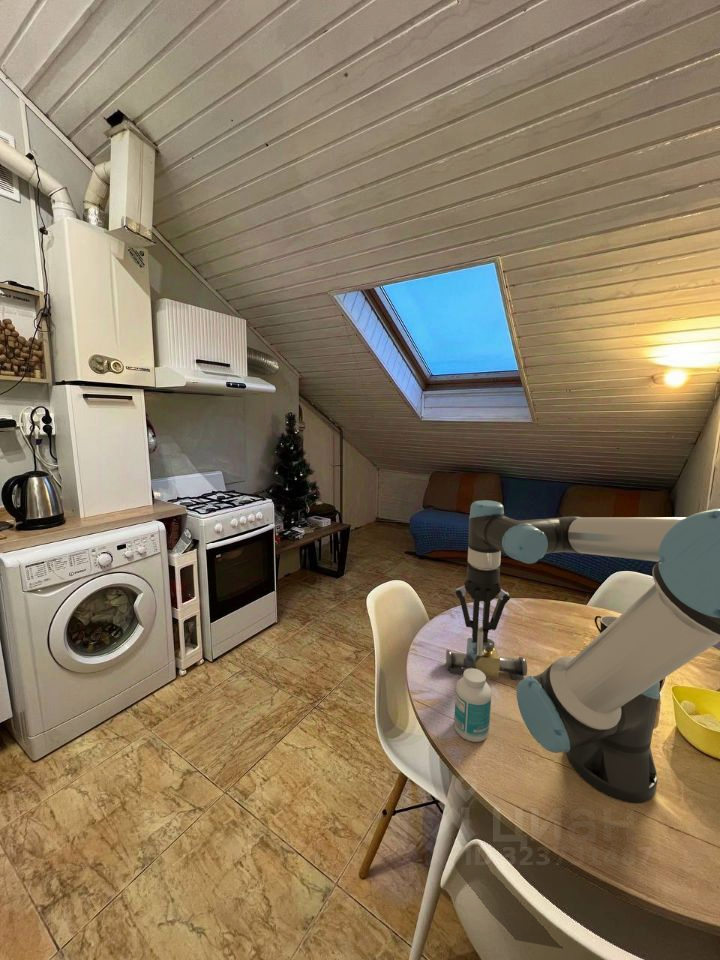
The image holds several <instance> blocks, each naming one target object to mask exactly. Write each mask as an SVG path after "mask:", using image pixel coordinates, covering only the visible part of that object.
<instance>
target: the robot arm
mask: <svg viewBox="0 0 720 960" xmlns="http://www.w3.org/2000/svg"><path fill="white" fill-rule="evenodd" d="M469 509H470V511H469V516H468V519H469V521H468V548H467V549H468V550H467V566H466V567H467V569H466V580H465V581H464V585H462V586H456V587H455V595H456V597H457V598H458V600H459V603H460V607H461V609H462V614H463V618H464V623H465V626H466V628H470V629H472V631H471V638H472V639H473V641H477V652H476V653H477V655H479V656H482V648H483V642H486V643H487V640H488V639H489V635H488V634H489V631H496V630H497V627H498V625H499V622H500V619H501V616H502V613H503V611H504V608H505V605H506V604H507V603H508V602H509V601H510V599H511V596H510V594H509V592H508V591H507V590H504V589H502V587H501V584H500V575H501V573H500V572H501V568H500V567H501V560H502V559H501V557H502V553H503V554H505V555H506V556H508V557H509V558H511V559H513V560H516V561H519V562H522V563H524V564H528V565H529V564H535V563H537V562H538V561H539V560H540V559H543V557H544V556H545V555H546V554H553V553H554V554H556V553H572V554H585V555H593V556H594V555H595V556H603V557H613V558H623V559H629V560H631V559H632V560H640V561H650V562H656V563H655V564H654V566H653V567H652V571H651V572H652V579H653V581H654V584H653V585H652V586H650V588H649V589H648V590H647V591H645V593H643V594H642V595H641V596H640V597H639V598H638V599H637V600H636V601H634V603H632V604H631V605H630V606H629V607H628V608H627V609H626V610H624V612H622V613H621V614H620V615H619V616H618V618H617V619H616V620H615V621H614V622H613V623H612V624H610V625H609V626H608V627H607V628H606V629H605V630H604V631H603V632H602V633H601V634H600V633H599V635H597V636H596V637H595V638H594V639H593V640H592V641H590V643H588V645H586V646H585V647H584V648H583V649H582V650H581V651H580V652H578V654H577V655H576V656H571V655H570V656H569V655H568V656H567V655H565V656H562V657H559V658H557V659H556V660H554V661H553V662H552V663H551V664H550V665H549V666H548V667H547V668H546V669H544V671H543V672H541V673H539V674H537V675H534V676H531V675H530V676H529V675H528V676H526V677H525V678H524V679H522V680H519V681H518V683H517V687H516V700H517V705H518V711H519V713H520V716H521V719H522V720H523V723H524V724H525V726H526V728H527V730H528V732H529V733H530V735H531V736H532V738H533V739H534V740H535V741H536V742H537V743H538V744H539V745H540V746H541V747H542V748H543V749H545V750H546V751H548V752H550V753H553V754H558V753H563V752H564V753H565V755H566V758H567V761H568V762H569V763H570V765H571V767H572V768H573V770H574V771H575V772H576V773H577V775H578V776H579V777H580V778H581V779H582V780H584V782H586V784H588V785H589V786H590V787H592V788H594V789H595V790H597V791H598V792H600V793H601V794H603V795H605V796H607V797H609V798H612V799H614V800H617V801H621V802H624V803H629V804H643V803H647V802H648V801H650V800H652V799H653V798H654V796H655V794H656V791H657V786H658V773H657V769H656V765H655V760H654V757H653V754H652V749H651V745H652V740H653V739H652V738H653V735H654V734H653V731H654V727H655V721H656V715H657V710H658V705H659V700H660V699H661V695H660V689H661V688H660V686H661V684H660V681H662V680H665V678H667V677H668V676H669V675H671V674H672V673H674V672H675V671H677V670H679V669H680V668H682V667H683V666H684V665H686V664H688V663H689V662H691V661H692V660H694V659H695V658H697V657H698V656H700V655H702V654H703V653H705V652H706V651H707V650H708V649H711V648H712V647H713V646H715V645H717V644H718V643H719V642H720V507H715V508H711V509H708V510H704V511H700V512H696V513H694V514H691V515H689V516H686V517H682V516H681V517H677V516H674V517H673V516H672V517H671V516H670V517H668V516H667V517H660V516H659V517H657V516H656V517H654V516H653V517H652V516H651V517H648V516H646V517H643V516H642V517H627V516H626V517H625V516H623V517H622V516H621V517H619V516H618V517H611V516H609V517H605V516H604V517H598V516H597V517H593V516H592V517H585V516H584V517H583V516H582V517H581V516H571V515H569V516H562V517H555V518H554V517H551V518H539V519H537V518H536V519H525V520H517V519H513V518H509V517H508V516H506V515H505V511H504V505H503V504H502V503H501V502H500V501H499V502H498V501H496V500H495V501H494V500H488V499H487V500H485V499H484V500H475V501H473V502H472V503H471V505H470V508H469ZM466 592H467V593H468V594H469V596H470V597H471V599H472V600H473V601H472V620H471V618H470V614H469V608H468V605H467V601H466V594H467V593H466ZM497 596H498V599H497V601H496V604H495V607H494V609H493V613H492V615H491V618H490V610H491V609H490V608H491V602H492V601H493V600H494V599H495V598H496V597H497ZM481 602H483V607H482V608H483V609H482V622H481V623H482V625H479V623H480V622H479V620H480V619H479V617H480V605H481V604H480V603H481Z"/></svg>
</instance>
